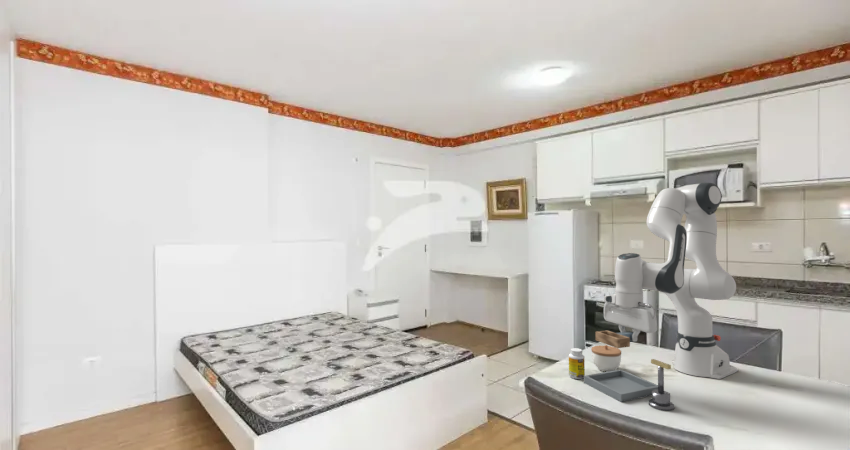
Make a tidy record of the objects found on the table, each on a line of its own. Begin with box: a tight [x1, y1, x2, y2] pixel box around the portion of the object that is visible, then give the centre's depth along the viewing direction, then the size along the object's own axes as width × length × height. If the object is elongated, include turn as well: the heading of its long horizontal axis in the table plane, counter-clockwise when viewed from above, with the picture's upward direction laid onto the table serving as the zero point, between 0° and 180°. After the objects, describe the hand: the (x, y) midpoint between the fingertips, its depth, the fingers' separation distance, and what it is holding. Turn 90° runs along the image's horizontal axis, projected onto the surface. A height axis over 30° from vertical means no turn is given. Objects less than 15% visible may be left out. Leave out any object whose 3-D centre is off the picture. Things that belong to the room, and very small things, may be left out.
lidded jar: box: [590, 344, 622, 372], centre depth 159 cm, size 11×11×9 cm
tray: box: [583, 369, 658, 403], centre depth 141 cm, size 17×17×2 cm
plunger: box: [648, 358, 675, 412], centre depth 128 cm, size 7×7×14 cm
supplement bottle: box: [568, 347, 586, 380], centre depth 152 cm, size 6×6×10 cm
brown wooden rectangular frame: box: [595, 330, 637, 349], centre depth 141 cm, size 10×12×3 cm
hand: (629, 339), depth 143 cm, fingers closed on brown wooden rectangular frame, 2 cm apart
